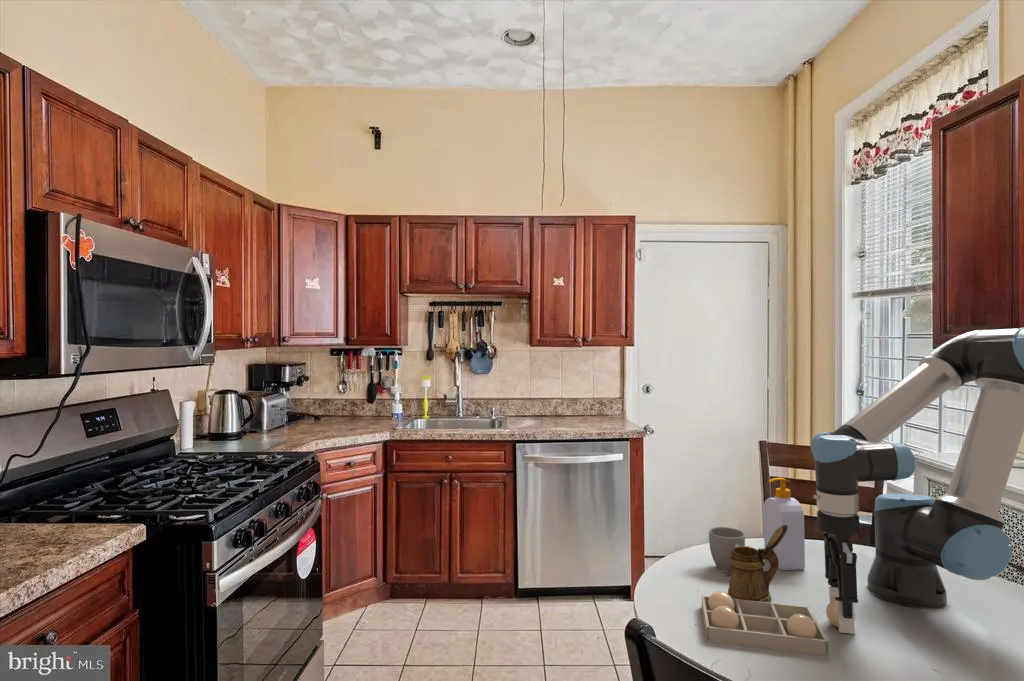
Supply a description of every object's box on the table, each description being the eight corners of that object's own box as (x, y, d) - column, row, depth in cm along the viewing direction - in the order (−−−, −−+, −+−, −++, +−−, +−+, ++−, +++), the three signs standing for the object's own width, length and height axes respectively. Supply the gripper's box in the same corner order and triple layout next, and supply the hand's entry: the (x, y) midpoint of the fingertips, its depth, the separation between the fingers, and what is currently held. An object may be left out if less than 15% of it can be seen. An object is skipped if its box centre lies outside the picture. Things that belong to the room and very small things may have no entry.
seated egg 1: (732, 612, 120) (732, 588, 120) (736, 624, 115) (735, 598, 115) (707, 609, 121) (707, 585, 121) (709, 621, 116) (709, 596, 116)
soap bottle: (761, 558, 152) (760, 474, 153) (786, 557, 153) (784, 474, 153) (779, 571, 143) (778, 482, 144) (805, 570, 144) (803, 482, 144)
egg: (850, 622, 115) (850, 597, 115) (859, 634, 110) (858, 608, 110) (823, 619, 117) (822, 594, 117) (830, 631, 112) (829, 605, 112)
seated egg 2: (737, 628, 113) (736, 602, 113) (740, 641, 108) (740, 614, 108) (710, 625, 114) (710, 599, 115) (712, 637, 109) (712, 611, 110)
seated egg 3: (812, 637, 109) (812, 610, 110) (820, 650, 104) (819, 623, 105) (784, 633, 111) (783, 607, 111) (790, 647, 106) (789, 619, 106)
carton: (808, 621, 117) (808, 606, 117) (828, 658, 103) (828, 641, 103) (701, 609, 123) (701, 595, 123) (707, 643, 109) (706, 627, 109)
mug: (703, 563, 149) (703, 527, 149) (734, 561, 150) (734, 526, 150) (725, 582, 137) (724, 542, 137) (759, 580, 138) (758, 541, 138)
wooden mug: (794, 614, 119) (789, 532, 118) (726, 606, 124) (721, 527, 124) (791, 594, 127) (786, 517, 126) (728, 587, 133) (723, 513, 132)
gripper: (806, 499, 124) (810, 603, 123) (830, 524, 106) (835, 646, 106) (843, 500, 122) (848, 606, 121) (874, 526, 104) (879, 650, 104)
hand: (842, 625), depth 114 cm, fingers closed on egg, 5 cm apart
